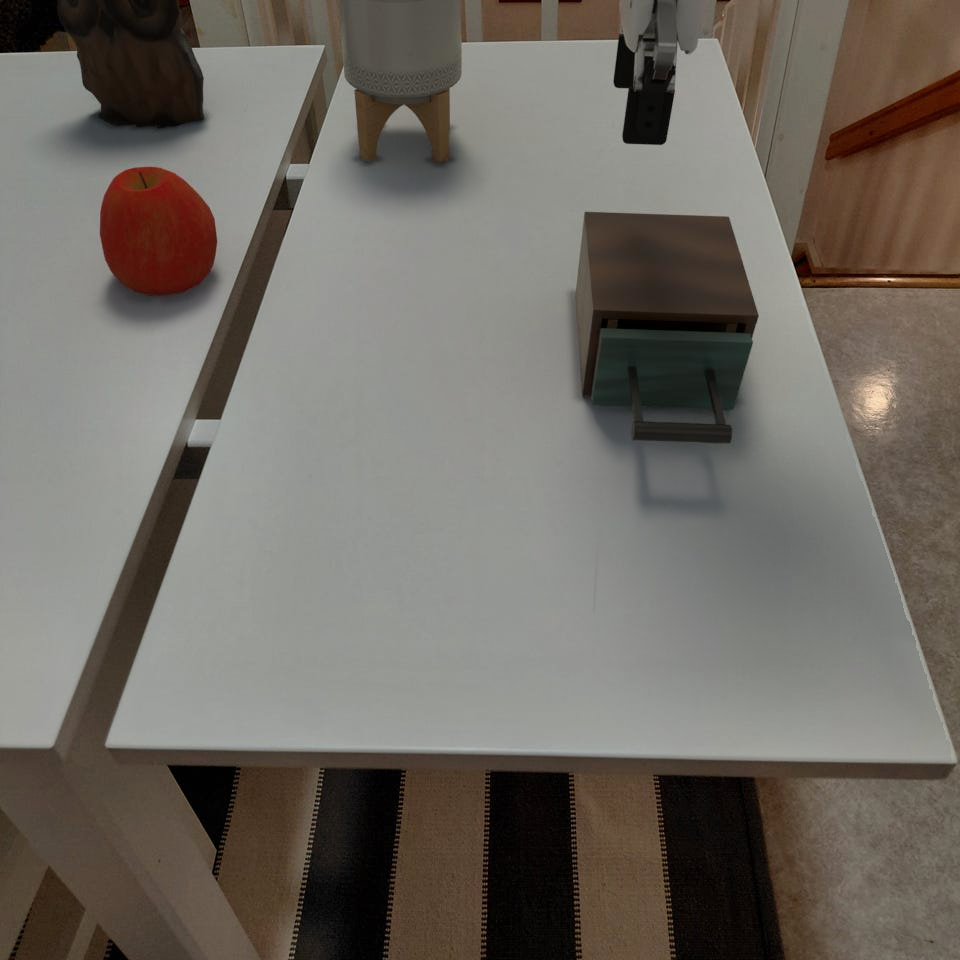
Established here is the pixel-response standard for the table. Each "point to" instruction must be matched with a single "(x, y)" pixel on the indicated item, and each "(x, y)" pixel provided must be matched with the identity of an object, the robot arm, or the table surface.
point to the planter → (402, 65)
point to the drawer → (671, 374)
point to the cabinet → (658, 275)
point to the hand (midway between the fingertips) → (637, 113)
